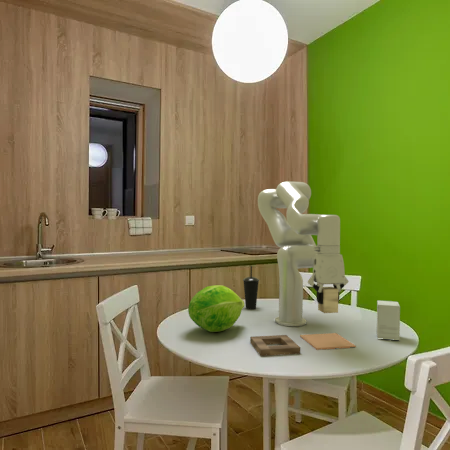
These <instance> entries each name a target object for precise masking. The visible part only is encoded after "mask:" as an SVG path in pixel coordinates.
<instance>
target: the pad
mask: <svg viewBox="0 0 450 450" xmlns="http://www.w3.org/2000/svg"><path fill="white" fill-rule="evenodd" d="M299 337H300V338H301V339H303V340H304V341H305V342H306V343H308V344H309V345H310V347H312V348H313V349H315V350H316V351H318V350H321V349H322V350H335V348H339V349H350V347H356V348H357V345H355V344H354V343H353V342H351V341H349V340H347V339H346V338H345V337H343V336H342V335H340V334H338V332H333V333H332V332H330V333H328V332H327V333H314V334H313V333H312V334H300V335H299Z"/></svg>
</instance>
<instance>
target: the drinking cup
mask: <svg viewBox="0 0 450 450" xmlns="http://www.w3.org/2000/svg"><path fill="white" fill-rule="evenodd" d="M249 275H250V276H247V277H243V279H242V281H243V288H244V289H243V290H244V303H245V309H247V310H255V309H257V303H258V293H259V292H258V291H259V281H260V279H259V278H257V277H255V276H253V266H252V265H250V274H249Z"/></svg>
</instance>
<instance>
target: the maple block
mask: <svg viewBox="0 0 450 450" xmlns="http://www.w3.org/2000/svg"><path fill="white" fill-rule="evenodd" d="M322 292H323V304H320V303H318V302H317V307H318V308H317V310H318V311H319V312H320V313H323V314H335V313H336V314H337V313H339V303H338V289H337V288H334V287H333V286H323V289H322Z"/></svg>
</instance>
